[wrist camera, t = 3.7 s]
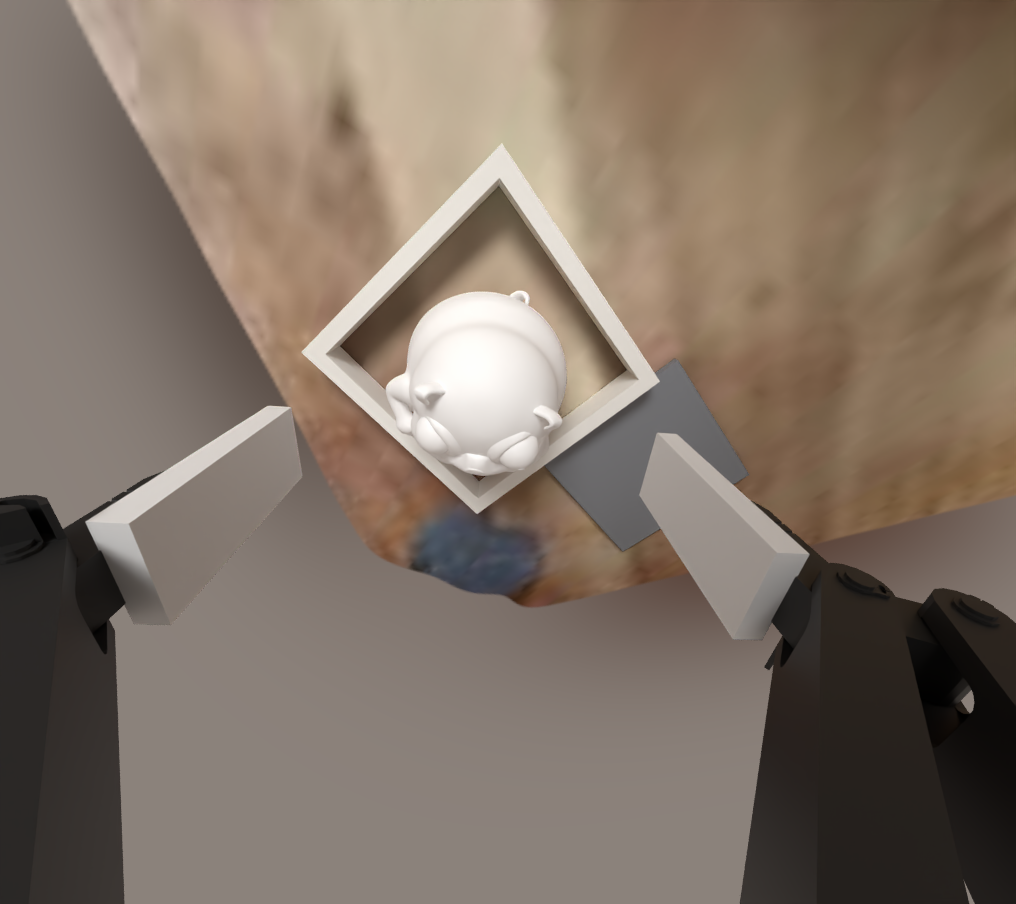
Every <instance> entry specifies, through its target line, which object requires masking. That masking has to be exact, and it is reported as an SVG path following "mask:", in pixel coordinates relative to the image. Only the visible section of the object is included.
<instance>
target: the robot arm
mask: <svg viewBox="0 0 1016 904" xmlns="http://www.w3.org/2000/svg"><path fill="white" fill-rule="evenodd" d="M301 477H302V470H301V465H300V458H299V452H298V446H297V440H296V434H295V428H294V422H293V416H292V409H291V407H278V406H267V407H265V408H264V409H262V410H261V411H259V412H257V413H256V414H254V415H253V416H251V417H250V418H248V419H246V420H245V421H243V422H242V423H240V424H239V425H237V426H235V427H234V428H232V429H231V430H229V431H227V432H226V433H224V434H223V435H221V436H220V437H218V438H216V439H215V440H213V441H212V442H210V443H209V444H207V445H205V446H204V447H202V448H201V449H199V450H198V451H196V452H194V453H193V454H191V455H190V456H188V457H187V458H185V459H184V460H182V461H180V462H179V463H177V464H175V465H174V466H172V467H171V468H169V469H168V470H166V471H163V472H161V473H158V474H155V475H153V476H150V477H147V478H145V479H143V480H142V481H140V482H138V483H137V484H135V485H133V486H132V487H130V488H129V489H127V492H122V493H121V494H119V495H117V496H116V497H114V498H112V501H111V502H110V501H108V502H106V503H105V504H103V505H101V506H100V507H98V508H97V509H95V510H93V511H92V512H90V513H88V514H87V515H85V516H83V517H82V518H80V519H79V520H77V521H75V522H74V523H72V524H70V525H69V526H67V527H66V528H64V529H62V527H61V525H60V523H59V521H58V519H57V517H56V515H55V514H54V511H53V509H52V507H51V505H50V504H49V502H48V500H47V498H45V497H41V496H37V495H19V496H13V497H6V498H0V904H124V879H123V853H122V852H123V851H122V822H121V795H120V766H119V738H118V708H117V682H116V681H117V679H116V651H115V630H114V628H113V626H112V624H111V622H110V621H109V618H110V617H111V616H113V615H114V614H115V613H116V612H117V611H118V610H119V609H120V608H121V607H122V606H123V605H125V607H126V609H127V611H128V613H129V615H130V617H131V619H132V621H133V623H134V624H147V625H171V624H172V623H173V622H174V621H175V620H176V619H177V617H179V615H180V614H181V613H182V612H183V611H184V610H185V608H187V606H188V605H189V604H190V603H191V602H192V601H193V600H194V598H195V597H196V596H197V595H198V594H199V593H200V592H201V591H202V589H203V588H204V587H205V586H206V585H207V584H208V583H209V581H210V580H211V579H212V578H213V577H214V576H215V575H216V574H217V572H218V571H219V570H220V569H221V568H222V567H223V566H224V564H225V563H226V562H227V561H228V560H229V559H230V558H231V557H232V555H233V554H234V553H235V552H236V551H237V550H238V549H239V548H240V547H241V545H242V544H243V543H244V542H245V541H246V540H247V539H248V538H249V536H250V535H251V534H252V533H253V532H254V531H255V530H256V528H257V527H258V526H259V525H260V524H261V523H262V522H263V521H264V519H265V518H266V517H267V516H268V515H269V514H270V513H271V512H272V510H273V509H274V508H275V507H276V506H277V505H278V504H279V503H280V501H281V500H282V499H283V498H284V497H285V496H286V495H287V493H288V492H289V491H290V490H291V489H292V488H293V487H294V485H295V484H296V483H297V482H298V481H299V480H300V479H301ZM639 496H640V497H641V499H642V500H643V502H644V503H645V505H646V506H647V508H648V510H649V511H650V513H651V514H652V516H653V517H654V519H655V520H656V522H657V523H658V525H659V526H660V528H661V530H662V531H663V533H664V534H665V536H666V537H667V539H668V540H669V542H670V543H671V545H672V546H673V548H674V550H675V551H676V553H677V554H678V556H679V557H680V559H681V560H682V562H683V563H684V565H685V566H686V568H687V570H688V571H689V573H690V574H691V576H692V577H693V579H694V580H695V582H696V583H697V585H698V586H699V588H700V590H701V591H702V593H703V594H704V596H705V597H706V599H707V600H708V602H709V603H710V605H711V606H712V608H713V610H714V611H715V613H716V614H717V616H718V617H719V619H720V620H721V622H722V623H723V625H724V626H725V628H726V630H727V631H728V633H729V634H730V636H731V637H732V639H733V640H762V639H763V638H764V636H765V634H766V632H767V630H768V629H769V627H770V625H771V623H773V624H774V625H775V627H776V628H777V629H778V630H779V632H780V633H781V634H782V635H783V636H782V638H781V639H780V641H779V643H778V644H777V646H776V648H775V650H774V651H773V653H772V655H771V656H770V658H769V660H768V662H767V663H766V665H765V668H766V669H768V670H770V668H771V667H772V665H774V666H773V673H772V680H771V688H770V694H769V702H768V709H767V715H766V722H765V729H764V736H763V743H762V751H761V758H760V765H759V772H758V779H757V786H756V794H755V800H754V807H753V814H752V821H751V828H750V835H749V842H748V850H747V856H746V863H745V871H744V878H743V885H742V892H741V899H740V904H969V901H968V896H967V892H966V888H965V884H964V881H965V883H966V886H967V888H968V890H969V892H970V894H971V896H972V899H973V901H974V903H975V904H1016V623H1015V622H1014V621H1013V620H1011V619H1010V618H1009V617H1008V616H1007V615H1005V614H1004V613H1002V612H1000V611H999V610H997V609H996V608H994V606H993V605H991V604H989V603H987V602H985V601H983V600H982V601H980V599H979V598H977V597H974V596H972V595H966V594H964V593H961V592H958V591H954V590H949V589H944V588H942V589H934V590H933V592H932V593H931V595H930V596H929V597H928V598H927V600H926V601H925V602H924V603H923V604H921V603H917V602H913V601H910V600H906V599H901V598H897V597H895V595H894V594H893V592H892V591H891V590H890V589H889V588H888V587H887V586H885V585H884V584H883V583H882V582H880V581H879V580H877V579H875V578H874V577H873V576H871V575H869V574H867V573H865V572H863V571H861V570H859V569H856V568H853V567H850V566H847V565H844V564H837V563H828V562H827V561H826V560H824V559H823V558H822V557H821V556H820V555H818V553H816V552H815V551H814V550H813V549H812V548H811V547H810V546H809V545H807V544H806V543H805V542H804V541H803V540H802V539H801V538H799V537H798V536H797V535H796V534H793V533H792V531H791V530H790V529H789V528H788V527H787V526H786V525H785V524H782V522H781V521H780V520H779V519H778V518H777V517H776V516H774V515H773V514H772V513H771V512H770V511H769V510H767V509H765V508H763V507H762V506H760V505H758V504H756V503H755V502H753V501H750V500H749V499H748V498H747V497H746V496H745V495H744V494H743V493H741V492H740V491H739V490H738V489H737V488H736V487H735V486H734V485H733V484H731V483H730V482H729V481H728V480H727V479H726V478H725V477H724V476H723V475H722V474H720V473H719V472H718V471H717V470H716V469H715V468H714V467H713V466H712V465H710V464H709V463H708V462H707V461H706V460H705V459H704V458H703V457H702V456H700V455H699V454H698V453H697V452H696V451H695V450H694V449H693V448H692V447H691V446H689V445H688V444H687V443H686V442H685V441H684V440H683V439H682V438H681V437H679V436H678V435H677V434H670V433H657V434H656V438H655V441H654V445H653V448H652V452H651V455H650V459H649V462H648V466H647V470H646V473H645V477H644V480H643V484H642V487H641V491H640V494H639ZM971 690H972V692H973V695H974V708H973V711H972V713H969V712H968V711H967V709H966V708H965V707H964V705H963V703H962V702H961V700H962V699H963V698H964V697H965V696H966V695H967V694H968V693H969V692H970V691H971ZM963 879H964V880H963Z"/></svg>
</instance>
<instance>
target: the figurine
mask: <svg viewBox="0 0 1016 904" xmlns="http://www.w3.org/2000/svg"><path fill="white" fill-rule="evenodd" d="M524 299H525V303H524V302H522V301H523V300H524ZM529 301H530V297H529V295H528V294H527V293H526V292H525V291H516V292H514V293H512V294H511V295H510V296H507V295H504V294H499V293H494V292H469V293H464V294H460V295H456V296H453V297H451V298H448V299H446V300H444V301H442V302H440V303H439V304H437V305H436V306H434V307H433V308H432V309H430V310H429V311H428V312H427V313H426V314H425V315H424V316H423V317H422V319H421V320H420V321H419V323H418V324H417V326H416V328H415V330H414V332H413V334H412V337H411V340H410V344H409V349H408V357H407V369H406V372H405V373H404V374H402V375H400V376H397V377H395V378H394V379H392V380H391V381H390V382H389V383H388V384H387V387H386V395H387V399H388V401H389V404H390V406H391V408H392V410H393V412H394V415H395V417H396V427H397V429H398V430H399V431H400V432H401V433H403V434H408V435H410V436H413V437H414V438H415V440H416V441H417V443H418V444H419V446H420V447H421V448H422V449H424V450H425V451H426V452H428V453H429V454H430V455H432V456H433V457H434V458H436V459H437V460H439V461H441V462H443V463H446V464H452V465H454V466H456V467H457V468H459V469H461V470H462V471H464V472H466V473H469V474H474V475H480V476H489V475H494V474H499V473H503V472H515V471H517V470H524V469H525V468H527V467H529V466H530V465H532V464H534V463H535V462H537V461H538V460H539V459H540V457H541V456H543V455H544V454H545V453H546V452H547V451H548V449H549V437H548V435H549V434H550V433H551V431H552V430H554V429H557V428H559V427H560V426H561V424H562V418H561V417H560V415H559V414H558V411H559V408H560V406H561V404H562V401H563V398H564V394H565V389H566V381H567V369H566V361H565V356H564V352H563V349H562V346H561V344H560V341H559V339H558V337H557V335H556V334H555V332H554V330H553V329H552V328H551V326H550V325H549V324H548V322H547V321H546V320H545V319H544V318H543V317H542V316H541V315H540V314H539V313H538V312H537V311H535V310H534V309H533V308H531V307H530V306H529V305H528V304H529ZM411 411H413V412H414V413H413V414H412V412H411Z"/></svg>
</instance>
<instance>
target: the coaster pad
mask: <svg viewBox="0 0 1016 904" xmlns="http://www.w3.org/2000/svg"><path fill="white" fill-rule="evenodd" d="M655 375H656V376H657V378H658V379H659V381H660V382H659V383H657V384H656V385H655V386H653V387H652V388H650V389H649V390H648V391H646V392H645V393H644V394H642V395H641V396H639V397H638V398H637V399H635V400H634V401H632V402H631V403H630V404H628V405H627V406H626V407H624V408H623V409H621V410H620V411H619V412H617V413H616V414H615V415H613V416H612V417H610V418H609V419H608V420H606V421H605V422H603V423H602V424H601V425H599V426H598V427H597V428H595V429H594V430H592V431H591V432H590V433H588V434H587V435H586V436H584V437H583V438H581V439H580V440H579V441H577V442H576V443H574V444H573V445H572V446H570V447H569V448H568V449H566V450H565V451H563V452H562V453H561V454H559V455H558V456H557V457H555V458H554V459H552V460H551V461H550V462H548V463H547V464H545V465H544V466H545V467H546V468H547V469H548V470H549V471H550V472H551V474H552V475H553V476H554V477H555V478H556V479H557V480H558V481H559V482H560V483H561V484H562V486H563V487H564V488H565V489H566V490H567V491H568V492H569V493H570V494H571V495H572V497H573V498H574V499H575V500H576V501H577V502H578V503H579V504H580V505H581V506H582V507H583V509H584V510H585V511H586V512H587V513H588V514H589V515H590V516H591V517H592V518H593V520H594V521H595V522H596V523H597V524H598V525H599V526H600V527H601V528H602V529H603V530H604V532H605V533H606V534H607V535H608V536H609V537H610V538H611V539H612V540H613V541H614V543H615V544H616V545H617V546H618V547H619V548H620V549H621V550H622V551H625V550H626V549H628V548H630V547H631V546H633V545H634V544H636V543H638V542H639V541H641V540H643V539H644V538H646V537H648V536H649V535H651V534H653V533H654V532H656V531H657V530H659V529H661V528H660V526H659V525H658V523H657V522H656V520H655V519H654V517H653V516H652V514H651V513H650V511H649V510H648V508H647V506H646V505H645V503H644V502H643V500H642V499H641V497H640V496H639V494H640V491H641V487H642V484H643V480H644V477H645V473H646V470H647V466H648V462H649V459H650V455H651V452H652V448H653V445H654V441H655V438H656V434H657V433H670V434H677V435H678V436H679V437H681V438H682V439H683V440H684V441H685V442H686V443H687V444H688V445H689V446H691V447H692V448H693V449H694V450H695V451H696V452H697V453H698V454H699V455H700V456H702V457H703V458H704V459H705V460H706V461H707V462H708V463H709V464H710V465H712V466H713V467H714V468H715V469H716V470H717V471H718V472H719V473H720V474H722V475H723V476H724V477H725V478H726V479H727V480H728V481H729V482H730V483H731V484H735V483H736V482H738V481H740V480H741V479H743V478H745V477H746V476H748V475H749V473H748V472H747V470H746V469H745V467H744V465H743V464H742V462H741V461H740V459H739V457H738V456H737V454H736V453H735V451H734V449H733V448H732V446H731V445H730V443H729V441H728V440H727V438H726V437H725V435H724V433H723V432H722V430H721V428H720V427H719V425H718V424H717V422H716V420H715V419H714V417H713V416H712V414H711V412H710V411H709V409H708V408H707V406H706V404H705V403H704V401H703V400H702V398H701V396H700V395H699V393H698V392H697V390H696V388H695V387H694V385H693V384H692V382H691V380H690V379H689V377H688V376H687V374H686V372H685V371H684V369H683V368H682V366H681V364H680V363H679V361H678V360H676V359H673V360H672V361H671V362H669V363H668V364H667V365H665V366H664V367H662V368H661V369H660V370H658V371H657V372H656V373H655Z"/></svg>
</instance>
